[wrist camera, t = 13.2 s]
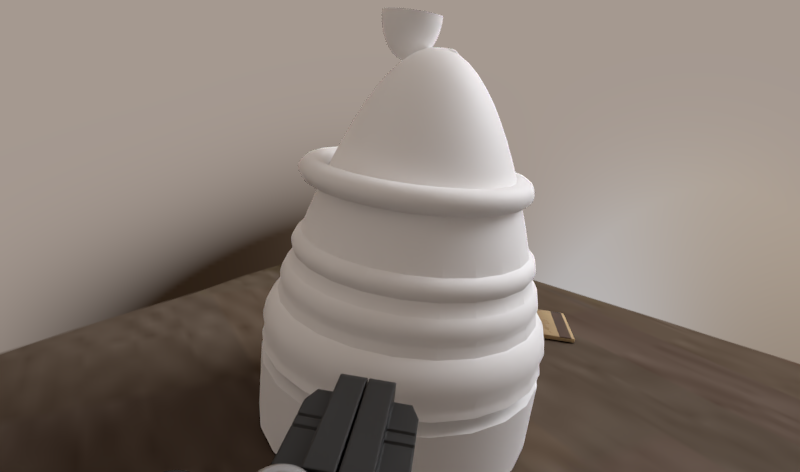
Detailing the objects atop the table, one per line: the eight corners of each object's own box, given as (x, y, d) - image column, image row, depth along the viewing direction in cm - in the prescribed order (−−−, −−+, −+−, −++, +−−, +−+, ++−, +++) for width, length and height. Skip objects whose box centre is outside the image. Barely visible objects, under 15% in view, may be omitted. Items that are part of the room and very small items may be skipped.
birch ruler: (562, 317, 38) (563, 313, 38) (573, 343, 34) (574, 338, 34) (325, 279, 39) (326, 275, 39) (310, 300, 35) (311, 296, 35)
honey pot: (216, 374, 26) (220, -13, 21) (408, 322, 34) (447, 34, 29) (361, 570, 17) (438, -43, 11) (578, 433, 25) (681, 39, 19)
